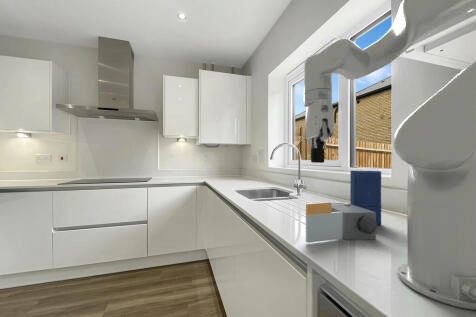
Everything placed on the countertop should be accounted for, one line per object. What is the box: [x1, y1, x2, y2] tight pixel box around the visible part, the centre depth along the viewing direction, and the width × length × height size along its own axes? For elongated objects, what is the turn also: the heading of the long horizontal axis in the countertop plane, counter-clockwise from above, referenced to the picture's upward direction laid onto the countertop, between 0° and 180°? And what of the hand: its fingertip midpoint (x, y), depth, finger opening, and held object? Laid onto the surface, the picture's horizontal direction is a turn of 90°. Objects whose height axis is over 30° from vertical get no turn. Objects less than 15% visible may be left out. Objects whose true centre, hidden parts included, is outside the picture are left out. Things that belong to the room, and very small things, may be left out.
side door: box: [305, 201, 343, 244], centre depth 58 cm, size 12×1×11 cm, turn 106°
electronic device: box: [349, 170, 382, 226], centre depth 77 cm, size 10×5×20 cm, turn 84°
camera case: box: [330, 202, 378, 241], centre depth 67 cm, size 16×10×9 cm, turn 5°
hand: (317, 162), depth 58 cm, fingers closed
